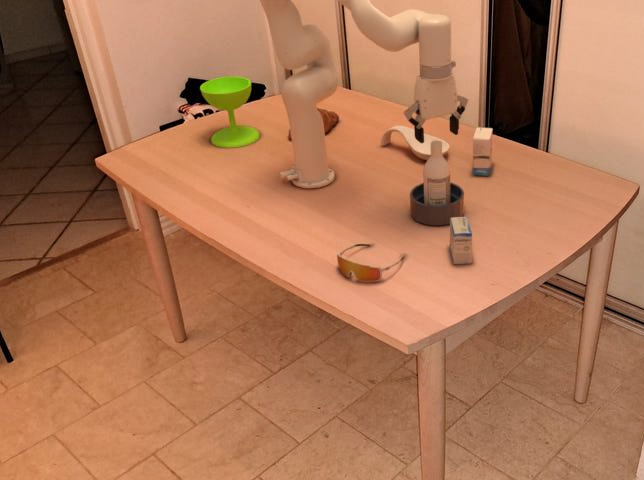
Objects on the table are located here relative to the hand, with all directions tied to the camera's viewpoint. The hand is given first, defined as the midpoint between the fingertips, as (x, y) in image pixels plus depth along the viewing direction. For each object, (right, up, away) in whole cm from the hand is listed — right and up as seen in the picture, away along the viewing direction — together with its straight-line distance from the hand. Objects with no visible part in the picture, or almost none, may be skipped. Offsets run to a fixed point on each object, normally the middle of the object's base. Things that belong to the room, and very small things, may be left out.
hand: (437, 137), depth 177 cm
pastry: (-40, +14, +61) cm, 74 cm away
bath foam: (0, -18, +12) cm, 22 cm away
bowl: (0, -18, +13) cm, 22 cm away
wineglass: (-65, +11, +58) cm, 88 cm away
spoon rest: (-6, +3, +44) cm, 45 cm away
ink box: (+14, -4, +33) cm, 36 cm away
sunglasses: (-16, -32, -7) cm, 37 cm away
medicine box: (+6, -30, -5) cm, 31 cm away
